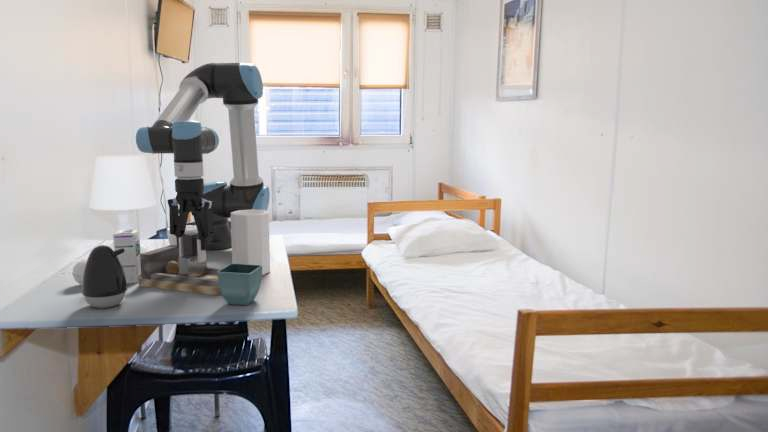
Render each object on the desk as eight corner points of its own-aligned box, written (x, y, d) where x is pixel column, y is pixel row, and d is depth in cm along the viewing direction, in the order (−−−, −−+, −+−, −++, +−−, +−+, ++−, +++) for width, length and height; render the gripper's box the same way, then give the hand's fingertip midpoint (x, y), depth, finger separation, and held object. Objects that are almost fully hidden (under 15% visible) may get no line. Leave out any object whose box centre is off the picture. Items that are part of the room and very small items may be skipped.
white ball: (105, 280, 175) (103, 255, 174) (99, 287, 168) (97, 261, 167) (67, 282, 173) (65, 257, 172) (59, 289, 166) (57, 263, 165)
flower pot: (251, 308, 150) (250, 273, 149) (217, 306, 152) (216, 271, 150) (264, 298, 159) (263, 264, 158) (231, 296, 160) (230, 263, 159)
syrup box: (138, 283, 173) (135, 232, 170) (116, 284, 172) (112, 233, 169) (142, 278, 178) (139, 229, 176) (121, 279, 177) (118, 229, 175)
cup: (267, 277, 180) (266, 214, 177) (229, 277, 179) (227, 215, 176) (272, 267, 191) (270, 209, 188) (235, 268, 190) (233, 209, 187)
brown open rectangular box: (139, 285, 170) (137, 254, 169) (172, 273, 183) (170, 244, 182) (218, 295, 161) (217, 262, 160) (247, 282, 174) (246, 251, 173)
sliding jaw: (179, 278, 168) (177, 236, 166) (198, 271, 176) (196, 230, 174) (188, 279, 167) (186, 236, 165) (207, 272, 175) (205, 231, 173)
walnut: (171, 272, 177) (170, 258, 176) (182, 273, 175) (182, 260, 175) (162, 275, 173) (161, 261, 172) (173, 277, 172) (173, 263, 171)
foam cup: (191, 273, 183) (189, 231, 181) (163, 272, 185) (160, 230, 183) (206, 266, 192) (204, 225, 190) (179, 265, 194) (177, 224, 192)
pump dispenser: (120, 311, 148) (116, 249, 146) (76, 312, 147) (71, 250, 145) (134, 298, 158) (130, 241, 156) (92, 299, 157) (88, 241, 155)
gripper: (152, 177, 167) (156, 260, 171) (209, 180, 161) (212, 266, 164) (170, 175, 174) (174, 255, 178) (225, 177, 168) (228, 260, 171)
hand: (192, 260), depth 171 cm, fingers open, 5 cm apart
